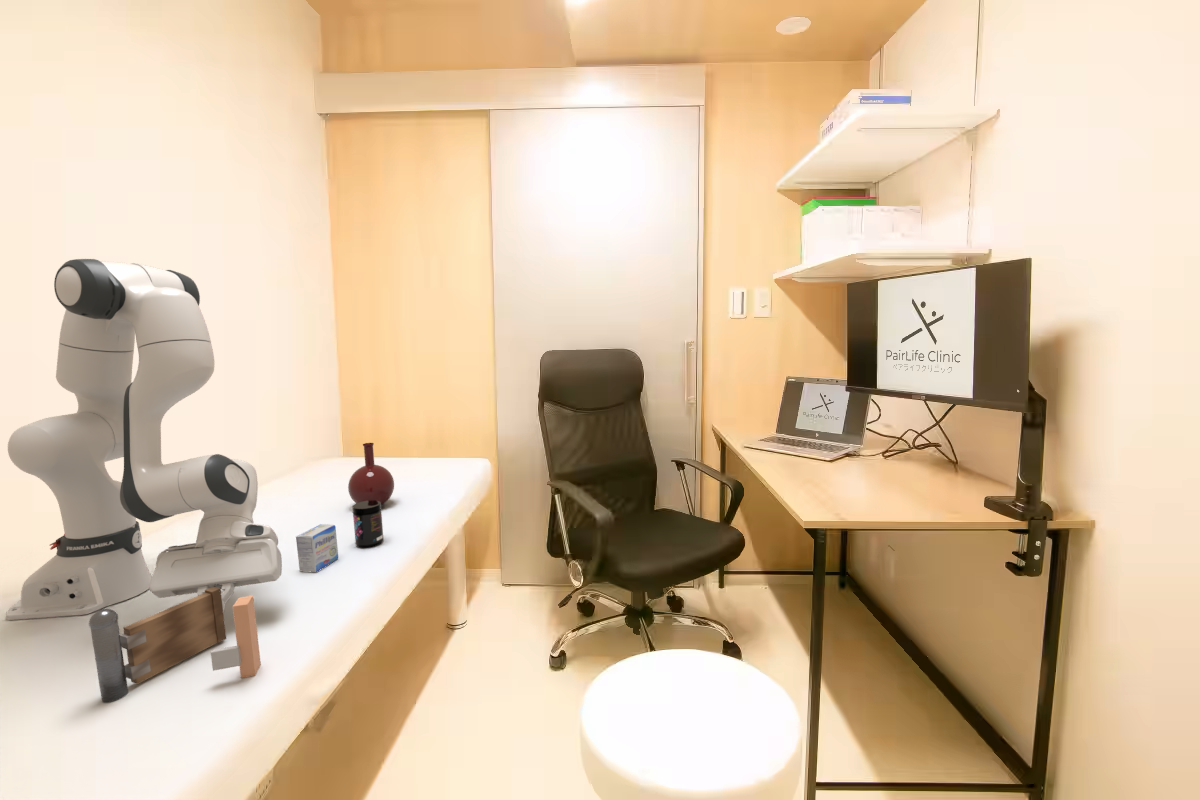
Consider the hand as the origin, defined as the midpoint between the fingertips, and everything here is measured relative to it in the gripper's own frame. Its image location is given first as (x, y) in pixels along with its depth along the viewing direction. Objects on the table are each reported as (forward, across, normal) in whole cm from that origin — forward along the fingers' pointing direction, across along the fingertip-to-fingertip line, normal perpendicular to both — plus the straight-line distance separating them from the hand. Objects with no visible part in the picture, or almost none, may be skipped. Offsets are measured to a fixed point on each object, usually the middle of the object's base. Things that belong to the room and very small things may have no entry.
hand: (212, 612), depth 97 cm
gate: (+8, -3, -1) cm, 8 cm away
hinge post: (+13, -9, -6) cm, 17 cm away
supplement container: (-23, +22, +30) cm, 44 cm away
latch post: (+13, +7, -6) cm, 16 cm away
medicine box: (-16, +12, +23) cm, 31 cm away
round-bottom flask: (-45, +21, +53) cm, 73 cm away
